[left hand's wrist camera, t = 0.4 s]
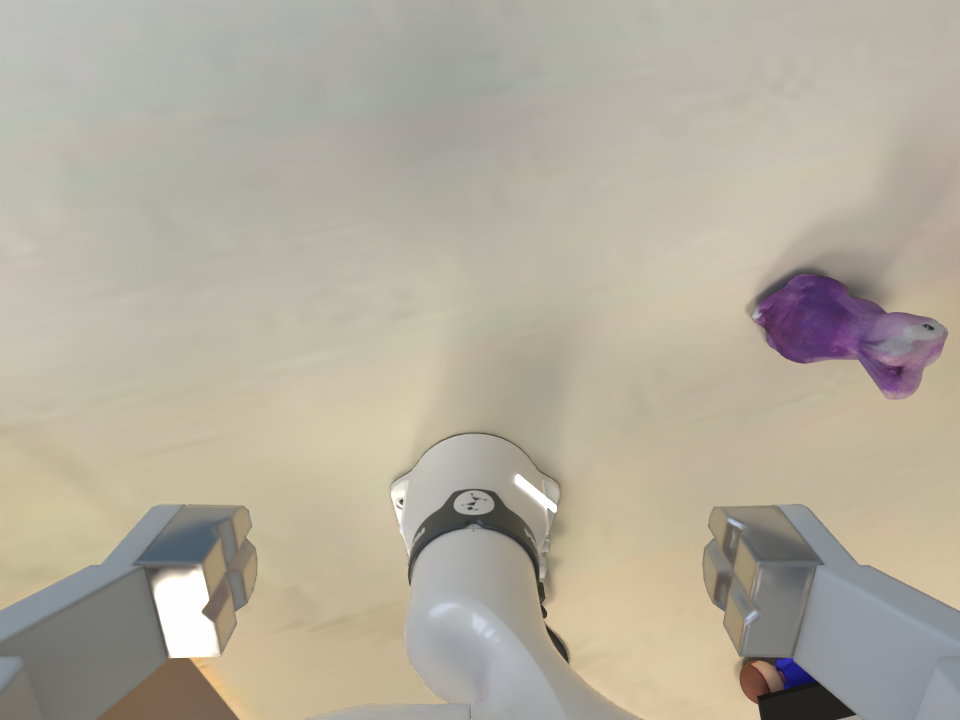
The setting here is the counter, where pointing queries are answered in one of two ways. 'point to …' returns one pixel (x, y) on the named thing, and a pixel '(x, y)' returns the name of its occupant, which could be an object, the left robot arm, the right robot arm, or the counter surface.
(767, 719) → the figurine character
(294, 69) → the counter surface
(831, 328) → the figurine
